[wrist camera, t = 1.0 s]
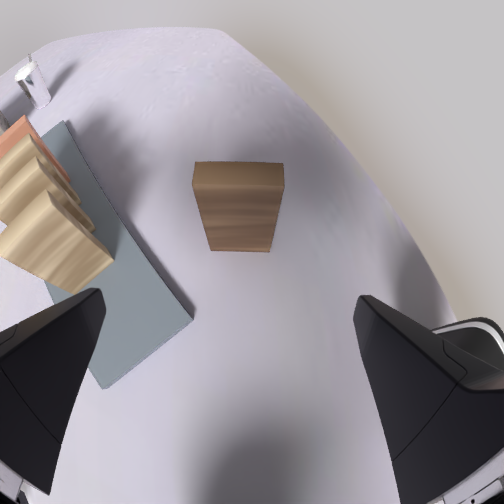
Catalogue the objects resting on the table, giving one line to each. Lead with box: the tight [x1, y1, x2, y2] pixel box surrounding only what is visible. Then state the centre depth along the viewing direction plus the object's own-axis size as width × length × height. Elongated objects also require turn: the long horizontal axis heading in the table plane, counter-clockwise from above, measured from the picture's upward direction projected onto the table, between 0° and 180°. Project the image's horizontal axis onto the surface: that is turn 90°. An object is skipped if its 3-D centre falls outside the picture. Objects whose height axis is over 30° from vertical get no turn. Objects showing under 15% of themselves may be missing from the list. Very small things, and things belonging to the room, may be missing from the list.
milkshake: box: [15, 54, 51, 110], centre depth 28 cm, size 5×5×10 cm
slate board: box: [41, 120, 193, 389], centre depth 24 cm, size 33×10×1 cm, turn 41°
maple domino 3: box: [0, 189, 114, 295], centre depth 17 cm, size 2×5×10 cm, turn 131°
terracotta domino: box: [0, 115, 71, 183], centre depth 20 cm, size 2×5×10 cm, turn 131°
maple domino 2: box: [0, 156, 96, 233], centre depth 18 cm, size 2×5×10 cm, turn 131°
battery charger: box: [430, 317, 504, 371], centre depth 15 cm, size 7×4×11 cm, turn 38°
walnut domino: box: [192, 162, 284, 252], centre depth 20 cm, size 2×5×10 cm, turn 89°
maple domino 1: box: [0, 133, 82, 206], centre depth 19 cm, size 2×5×10 cm, turn 131°
